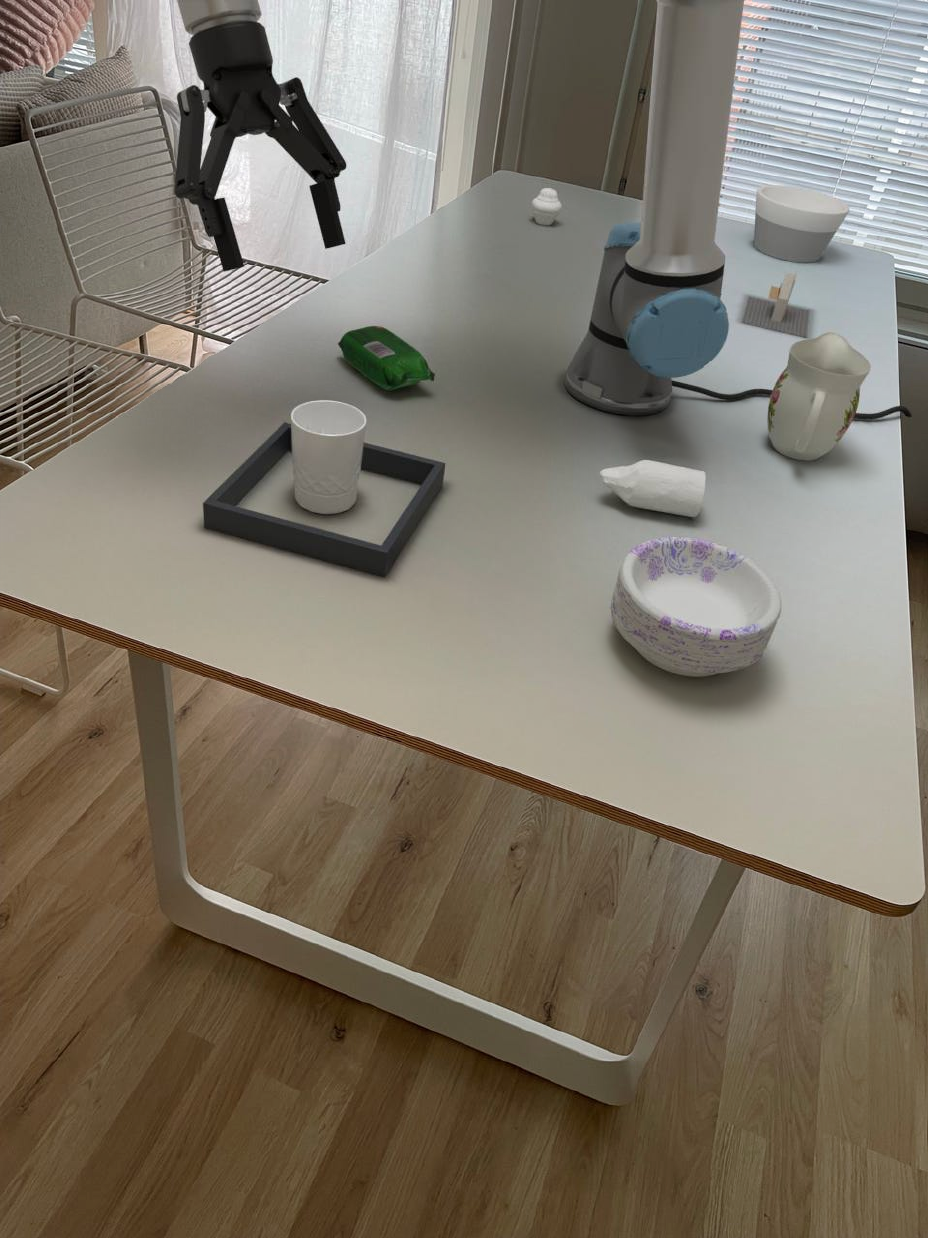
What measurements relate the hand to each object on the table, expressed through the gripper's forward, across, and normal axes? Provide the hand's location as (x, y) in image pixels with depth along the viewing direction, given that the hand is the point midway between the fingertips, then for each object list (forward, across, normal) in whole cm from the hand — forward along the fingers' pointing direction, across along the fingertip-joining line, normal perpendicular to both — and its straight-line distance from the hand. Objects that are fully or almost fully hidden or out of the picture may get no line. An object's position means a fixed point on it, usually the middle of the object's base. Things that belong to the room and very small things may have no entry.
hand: (286, 257), depth 102 cm
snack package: (+18, -23, -17) cm, 34 cm away
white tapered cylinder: (+36, -25, +22) cm, 49 cm away
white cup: (+25, +4, +1) cm, 26 cm away
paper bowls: (+43, -6, +37) cm, 57 cm away
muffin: (+4, -103, -49) cm, 114 cm away
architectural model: (+28, -101, +1) cm, 105 cm away
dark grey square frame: (+26, +5, +2) cm, 26 cm away
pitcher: (+38, -55, +26) cm, 72 cm away
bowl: (+20, -140, -15) cm, 143 cm away
